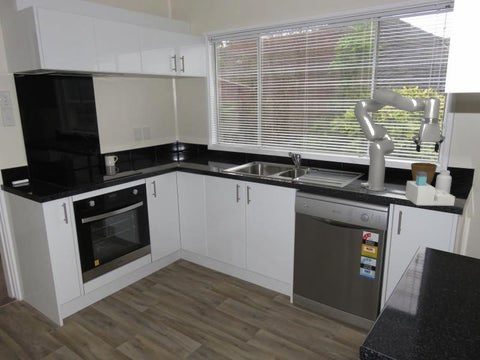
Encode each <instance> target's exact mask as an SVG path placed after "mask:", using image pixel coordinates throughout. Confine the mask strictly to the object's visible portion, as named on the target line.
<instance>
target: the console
mask: <svg viewBox="0 0 480 360" xmlns="http://www.w3.org/2000/svg"><path fill="white" fill-rule="evenodd" d="M405 198H406V199H408V200H409V201H410V202H411V203H413V204H414V205H416V206H455V201H456V200H455V199H456V196H454V195H453V194H451V193H447V192H445V191H443V190H441V189H435V187H434V186H432V185H431V184H430V185H429V184H427V183H426V186H418V185H416V181H413V180H406V189H405Z"/></svg>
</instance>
